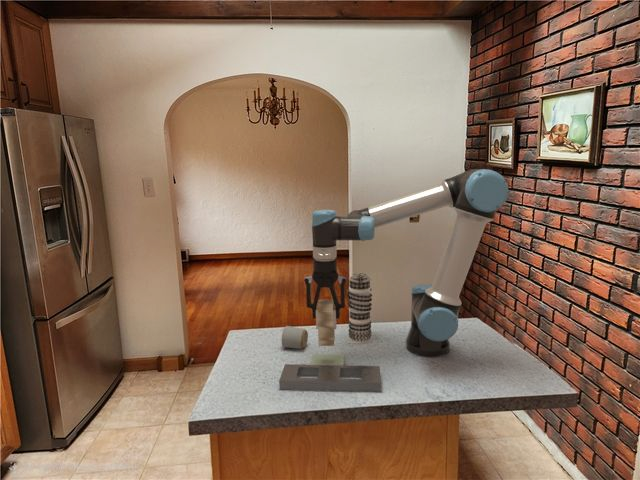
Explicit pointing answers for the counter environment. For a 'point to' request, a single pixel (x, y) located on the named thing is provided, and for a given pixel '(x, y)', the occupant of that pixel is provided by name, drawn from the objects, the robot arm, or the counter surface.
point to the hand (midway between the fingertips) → (326, 327)
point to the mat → (327, 359)
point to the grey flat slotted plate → (331, 378)
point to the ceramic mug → (294, 337)
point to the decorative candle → (359, 308)
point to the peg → (326, 323)
